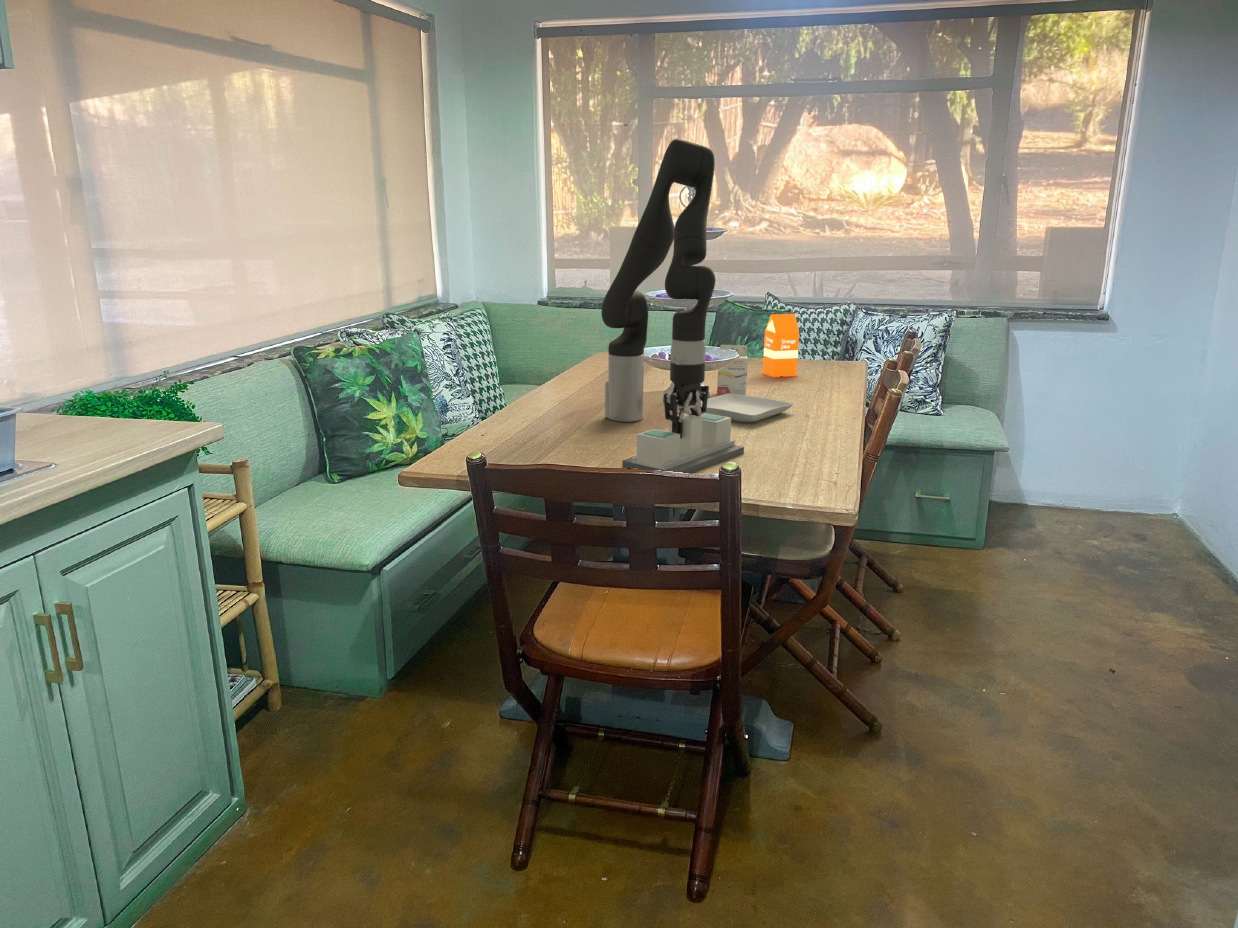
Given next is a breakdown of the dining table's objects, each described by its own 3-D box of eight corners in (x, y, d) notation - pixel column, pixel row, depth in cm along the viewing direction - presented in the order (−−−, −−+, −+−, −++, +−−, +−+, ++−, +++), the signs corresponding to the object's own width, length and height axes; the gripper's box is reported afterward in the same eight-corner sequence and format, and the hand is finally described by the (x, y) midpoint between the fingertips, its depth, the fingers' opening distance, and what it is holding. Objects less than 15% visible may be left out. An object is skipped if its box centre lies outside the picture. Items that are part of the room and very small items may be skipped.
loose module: (668, 451, 200) (669, 416, 198) (680, 447, 204) (681, 413, 201) (690, 456, 197) (691, 420, 195) (701, 451, 200) (702, 416, 198)
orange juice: (762, 372, 303) (765, 313, 297) (785, 371, 305) (789, 312, 300) (772, 377, 296) (776, 316, 290) (796, 375, 298) (800, 315, 292)
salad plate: (728, 403, 259) (728, 391, 258) (793, 414, 246) (794, 402, 245) (685, 415, 243) (686, 403, 242) (753, 428, 230) (754, 415, 229)
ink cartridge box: (717, 396, 266) (718, 347, 262) (716, 393, 271) (718, 344, 266) (746, 397, 265) (748, 347, 261) (745, 393, 270) (748, 345, 266)
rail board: (622, 467, 195) (622, 430, 193) (693, 442, 215) (694, 409, 213) (674, 479, 186) (675, 442, 184) (743, 453, 206) (745, 418, 204)
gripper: (692, 354, 202) (690, 426, 207) (653, 362, 191) (652, 438, 196) (720, 357, 197) (717, 432, 202) (682, 366, 187) (680, 444, 191)
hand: (685, 435), depth 199 cm, fingers open, 6 cm apart
